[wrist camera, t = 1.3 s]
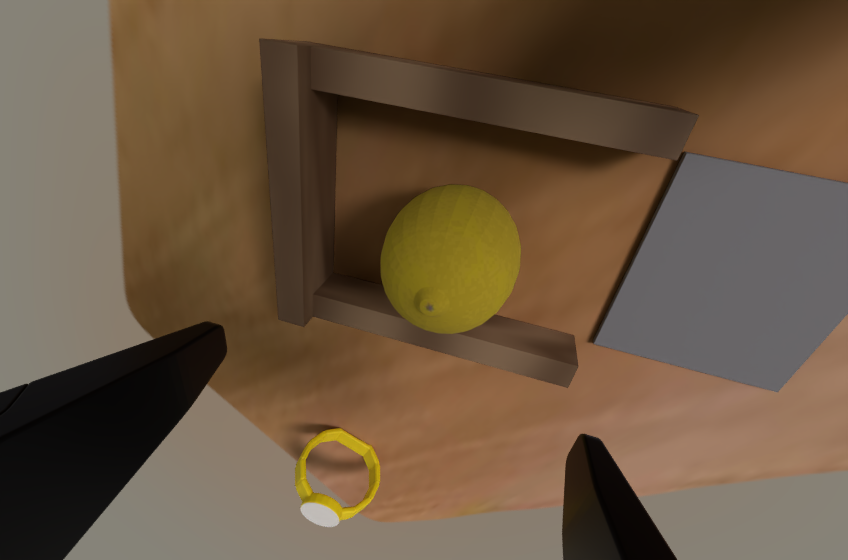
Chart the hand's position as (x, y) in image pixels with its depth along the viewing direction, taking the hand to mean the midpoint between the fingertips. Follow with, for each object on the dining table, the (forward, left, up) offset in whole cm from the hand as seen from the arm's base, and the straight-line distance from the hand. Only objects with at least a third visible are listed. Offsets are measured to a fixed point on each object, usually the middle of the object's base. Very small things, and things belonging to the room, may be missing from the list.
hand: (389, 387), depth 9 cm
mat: (-13, 0, -12) cm, 17 cm away
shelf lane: (0, 0, -12) cm, 12 cm away
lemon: (0, 0, -12) cm, 12 cm away
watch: (+5, +20, -12) cm, 24 cm away
